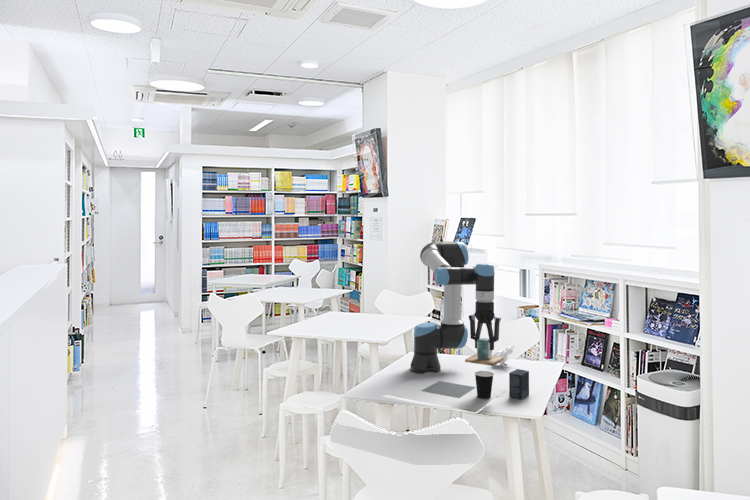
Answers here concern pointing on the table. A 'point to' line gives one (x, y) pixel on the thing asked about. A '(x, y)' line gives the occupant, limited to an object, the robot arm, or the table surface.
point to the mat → (448, 389)
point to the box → (518, 384)
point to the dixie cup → (484, 384)
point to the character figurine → (504, 354)
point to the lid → (483, 354)
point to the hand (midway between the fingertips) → (484, 356)
